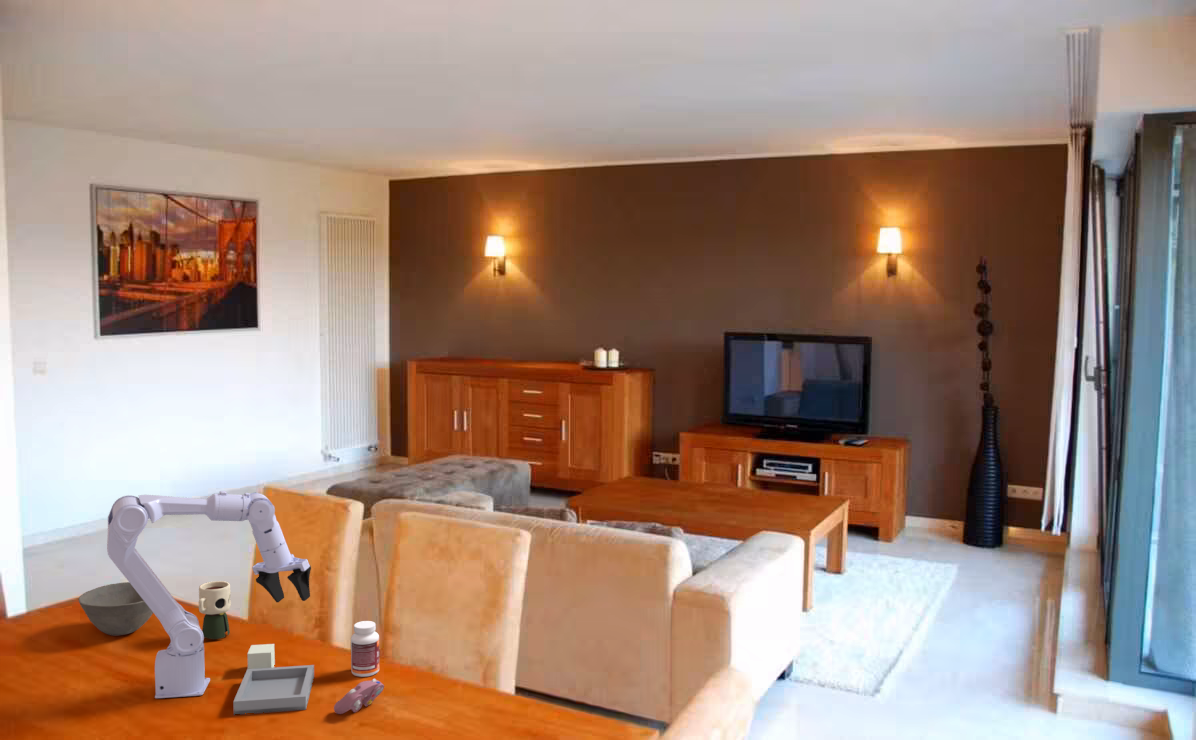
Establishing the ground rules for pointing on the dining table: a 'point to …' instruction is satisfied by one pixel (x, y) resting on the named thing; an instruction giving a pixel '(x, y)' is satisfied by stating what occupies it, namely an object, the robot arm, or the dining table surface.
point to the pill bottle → (364, 649)
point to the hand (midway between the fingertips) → (293, 599)
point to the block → (261, 656)
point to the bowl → (115, 608)
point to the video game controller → (359, 696)
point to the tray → (274, 689)
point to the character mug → (215, 608)
